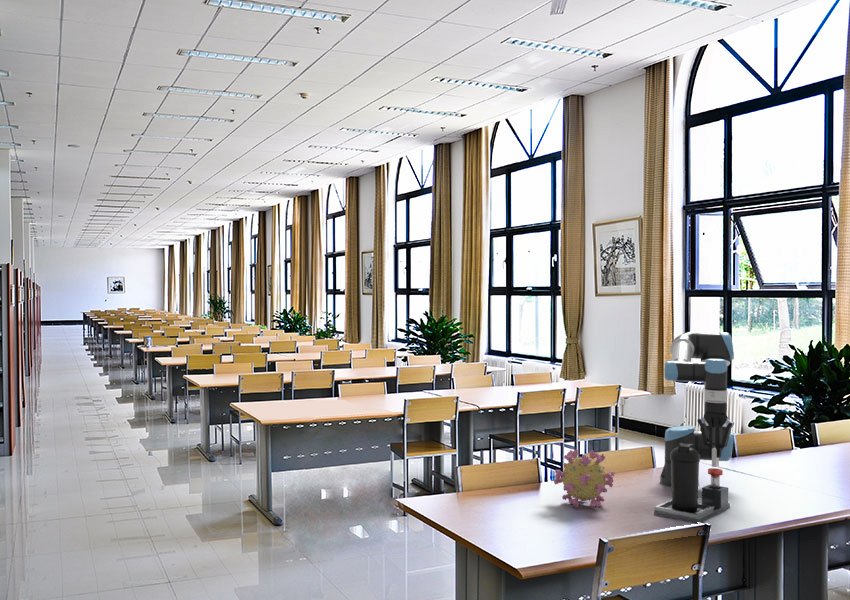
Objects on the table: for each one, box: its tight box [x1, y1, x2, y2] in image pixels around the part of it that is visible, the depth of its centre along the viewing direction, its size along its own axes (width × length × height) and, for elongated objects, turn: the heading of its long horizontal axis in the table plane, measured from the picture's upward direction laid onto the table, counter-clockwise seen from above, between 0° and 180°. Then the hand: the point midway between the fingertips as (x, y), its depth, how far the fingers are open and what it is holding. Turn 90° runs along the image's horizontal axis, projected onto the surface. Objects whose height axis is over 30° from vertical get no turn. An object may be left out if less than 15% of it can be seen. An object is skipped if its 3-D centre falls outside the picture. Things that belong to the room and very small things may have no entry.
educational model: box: [552, 448, 616, 509], centre depth 281 cm, size 23×22×20 cm
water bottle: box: [670, 443, 701, 513], centre depth 271 cm, size 10×10×23 cm
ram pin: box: [707, 467, 724, 490], centre depth 279 cm, size 5×5×8 cm
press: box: [653, 483, 731, 524], centre depth 275 cm, size 16×28×8 cm, turn 138°
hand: (715, 466), depth 278 cm, fingers closed
